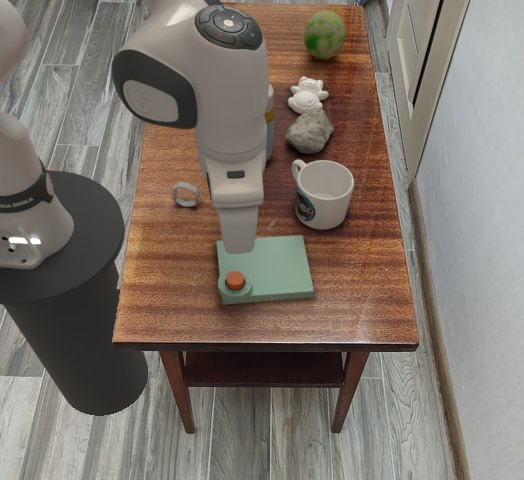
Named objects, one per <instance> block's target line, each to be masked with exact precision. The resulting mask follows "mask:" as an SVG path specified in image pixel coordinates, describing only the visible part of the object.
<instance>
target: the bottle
mask: <svg viewBox="0 0 524 480" xmlns="http://www.w3.org/2000/svg"><path fill="white" fill-rule="evenodd" d="M274 93H275V92H274V87H273V86H272V84H271V83H269V93H268V104H267V107H266V110H265V113H264V116H265V120H266V124H267V146H266V163H268V161H270V160H271V159H272V157H273V152H274V136H275V135H274V133H275V117H276V116H275V115H276V114H275V112H276V111H275V108H274Z"/></svg>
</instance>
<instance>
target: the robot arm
mask: <svg viewBox="0 0 524 480" xmlns="http://www.w3.org/2000/svg"><path fill="white" fill-rule="evenodd" d="M144 2H145V3H146V5H147V7H148V10H149V14H150V16H149V17H148V19H147V20H146V21H145V22H144V23H143V24H142V25H141V26H140V27H139V28H138V29H137V30H135V31H134V32H133V34H132V35H131V36H129V38H128V39H127V40H126V42H125V43H124V44H123V45H122V46H121V48H120V49H119V50H118V52H117V53H116V54H115V56H113V58H112V59H113V60H112V62H111V77H112V82H113V87H114V89H115V91H116V93H117V95H118V97H119V100H120V101H121V103H122V104H123V105H124V106H125V108H126V109H127V110H128V111H129V112H130V113H131V114H132V115H133V116H134V117H136V118H137V119H139V120H140V121H143V122H145V123H147V124H151V125H155V126H160V127H164V128H169V129H179V130H193V129H194V132H195V141H196V151H197V162H198V163H197V164H198V166H199V168H200V170H201V172H202V174H203V177H204V179H205V181H206V183H207V188H208V193H209V198H210V200H211V206H212V207H213V208H216V213H217V217H218V224H219V227H220V233H221V238H222V241H223V243H224V247H225V250H226V252H227V253H229V254H243V253H249V252H251V251H252V250H253V248H254V245H255V238H257V237H256V236H257V229H258V220H259V206H260V205H263V204H264V200H265V184H264V174H265V169H266V163H267V162H266V146H267V124H266V120H265V116H264V113H265V110H266V107H267V104H268V93H269V84H270V81H269V80H270V79H269V76H270V75H269V59H268V56H269V55H268V48H267V43H266V38H265V35H264V33H263V30H262V28H261V26H260V25H259V23H258V22H257V20H255V18H254V17H253V16H252V15H251V14H249V13H247V12H246V11H244V10H242V9H240V8H237V7H234V6H231V5H228V4H227V5H226V4H223V3H222V2H221V1H220V0H144ZM24 21H25V20H23V17H22V16H21V14H20V13H19V11H18V9H16V7H15V6H14V5H13V3H11V2H10V1H9V0H0V86H1V85H2V84H4V82H5V81H6V80H7V79H8V78H9V77H10V76H11V75H12V74H13V73H14V72H15V71H16V70H17V68H18V67H19V64H20V62H21V60H22V59H23V57H24V55H25V52H26V51H27V48H28V45H29V33H28V29H27V25H26V23H25V22H24ZM47 171H48V170H47V169H46V167H45V164H44V162H43V160H42V159H41V158H40V157H39V156H38V154H37V151H36V148H35V146H34V143H33V141H32V138H31V136H30V133H29V131H28V128H27V127H26V126H25V124H24V123H23V122H22V121H21V120H20V119H18V118H17V117H16V116H14V115H13V114H11V113H8V112H6V111H2V110H0V267H4V268H17V269H34V268H36V267H38V266H39V265H40V264H41V263H42V262H43V260H44V259H45V258H47V257H48V256H50V255H52V254H54V253H55V252H57V251H58V250H60V249H61V248H62V247H64V246H65V245H66V243H67V242H68V241H69V240H70V238H71V236H72V234H73V230H74V222H73V219H72V217H71V215H70V214H69V213H68V212H67V211H66V209H65V208H64V207H63V206H62V204H61V203H60V201H59V200H58V198H57V197H56V195H55V193H54V190H53V185H52V182H51V179H50V176H49V174H48V173H47ZM24 262H25V263H24Z"/></svg>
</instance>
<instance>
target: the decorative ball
mask: <svg viewBox="0 0 524 480" xmlns="http://www.w3.org/2000/svg"><path fill="white" fill-rule="evenodd" d="M346 35H347V28H346V26H345V24H344V21H343V19H342V18H341V17H340V15H339V14H338V13H336V12H334V11H331V10H320V11H317V12H316V13H315V14H313V15H312V16H311V17H310V19H309V20H308V21H307V23H306V25H305V26H304V28H303V43H304V46H305V47H306V49H307V52H308V53H309V54H310V55H311V56H313V57H314V58H315V59H318V60H329V59H331V58H333V57H334V56H337V55H338V54H339V52H340V51H341V50H342V48H343V46H344V44H345V42H346Z"/></svg>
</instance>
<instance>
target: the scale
mask: <svg viewBox="0 0 524 480" xmlns="http://www.w3.org/2000/svg"><path fill="white" fill-rule="evenodd" d="M216 254H217V263H218V264H217V265H218V274H219V277H218V279H217V288H218V294H219V295H220V296H221V304H222V305H232V304H233V305H235V304H246V303H247V304H249V303H260V302H261V303H262V302H272V301H284V300H297V299H309V298H310V299H311V298H313V297H314V293H315V290H314V285H313V280H312V275H311V270H310V265H309V260H308V255H307V251H306V245H305V240H304V236H303V234H298V235H297V234H295V235H281V236H267V237H266V236H265V237H256V238H255V245H254V248H253V250H252V251H251V252H249V253H243V254H229V253H227V252H226V250H225V247H224V243H223V240H216ZM232 271H238V272H241V273H242V274H243V276H244V286H243V287H242V288H241V289H239V290H231V289H229V288H228V287H227V283H226V277H227V275H228V273H230V272H232Z"/></svg>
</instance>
